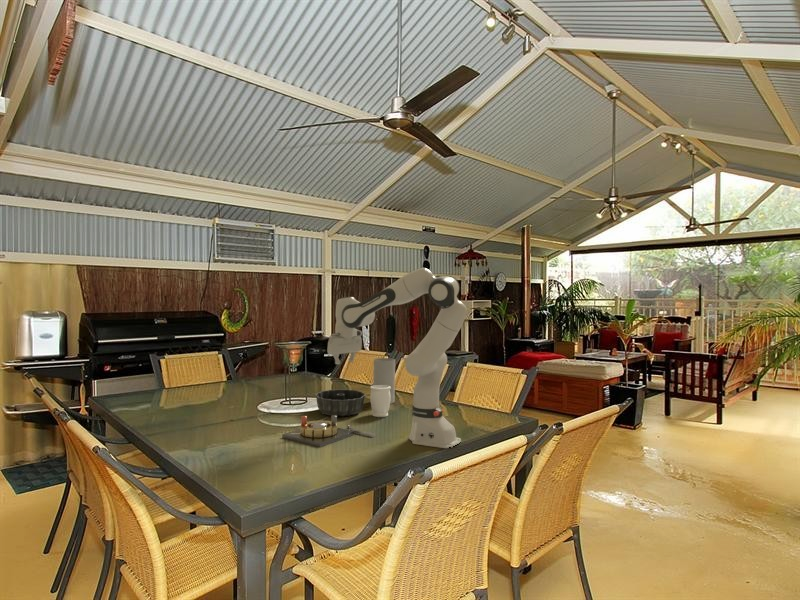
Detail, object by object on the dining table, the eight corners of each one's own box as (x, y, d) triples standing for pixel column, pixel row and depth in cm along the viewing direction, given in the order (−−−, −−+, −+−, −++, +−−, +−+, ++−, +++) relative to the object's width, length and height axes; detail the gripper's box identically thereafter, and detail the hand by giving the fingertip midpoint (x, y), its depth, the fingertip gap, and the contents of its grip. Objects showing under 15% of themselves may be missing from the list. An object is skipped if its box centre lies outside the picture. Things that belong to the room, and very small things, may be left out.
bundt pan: (369, 418, 241) (369, 398, 241) (316, 420, 235) (316, 400, 235) (361, 406, 267) (362, 388, 267) (314, 408, 261) (314, 389, 261)
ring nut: (326, 425, 219) (326, 410, 219) (344, 433, 207) (344, 417, 207) (294, 430, 210) (294, 414, 210) (310, 439, 197) (310, 422, 197)
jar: (391, 413, 251) (391, 385, 251) (389, 418, 241) (389, 388, 241) (371, 412, 252) (372, 384, 252) (368, 417, 242) (368, 388, 242)
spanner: (376, 436, 210) (376, 429, 210) (371, 437, 207) (371, 431, 207) (348, 430, 218) (348, 424, 218) (344, 431, 216) (344, 425, 216)
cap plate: (354, 434, 211) (354, 422, 211) (320, 447, 193) (320, 433, 193) (317, 426, 224) (317, 414, 223) (282, 437, 205) (282, 425, 205)
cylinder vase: (375, 405, 270) (376, 361, 270) (371, 400, 282) (371, 358, 282) (396, 404, 273) (397, 360, 273) (391, 399, 285) (392, 358, 285)
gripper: (335, 334, 205) (334, 366, 206) (364, 331, 223) (363, 361, 223) (324, 333, 209) (323, 364, 209) (353, 331, 226) (353, 360, 226)
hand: (344, 363), depth 216 cm, fingers open, 8 cm apart
